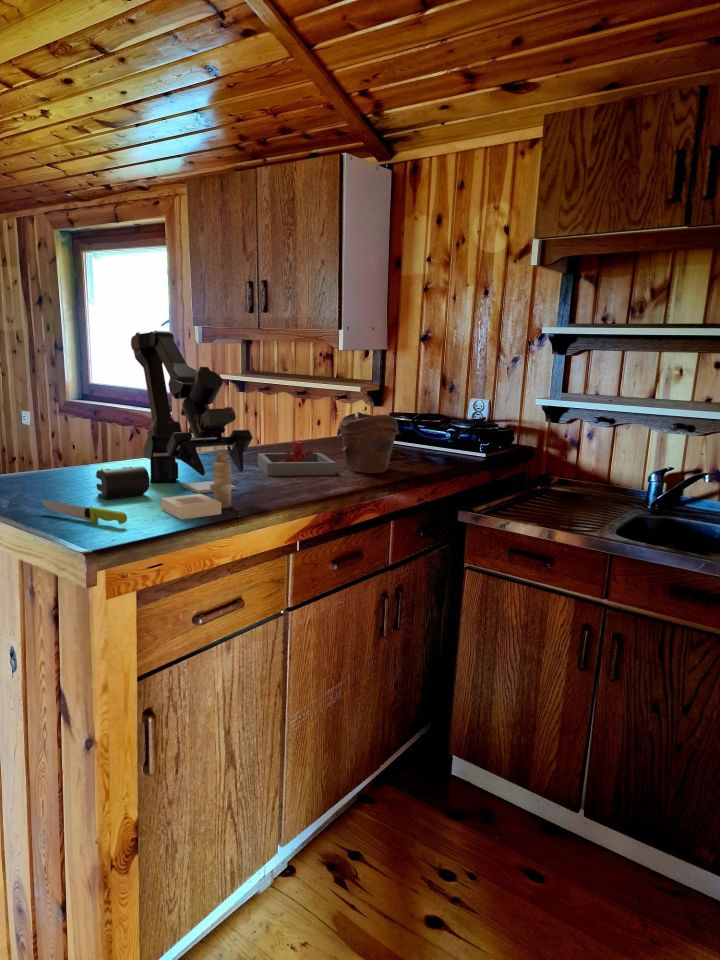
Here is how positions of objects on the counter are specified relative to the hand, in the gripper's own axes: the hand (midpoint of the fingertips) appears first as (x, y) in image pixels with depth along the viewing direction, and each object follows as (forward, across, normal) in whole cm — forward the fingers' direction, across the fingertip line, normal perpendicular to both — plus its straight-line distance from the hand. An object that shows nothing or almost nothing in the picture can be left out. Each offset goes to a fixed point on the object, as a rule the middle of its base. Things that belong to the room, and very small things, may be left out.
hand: (223, 472), depth 138 cm
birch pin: (+5, 0, +6) cm, 8 cm away
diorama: (-18, +40, +28) cm, 52 cm away
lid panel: (-8, +6, +19) cm, 21 cm away
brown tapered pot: (-11, +60, +22) cm, 65 cm away
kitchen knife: (+3, -29, +8) cm, 30 cm away
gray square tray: (-18, +40, +28) cm, 52 cm away
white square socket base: (+6, -8, +5) cm, 11 cm away
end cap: (-9, -15, +20) cm, 26 cm away
